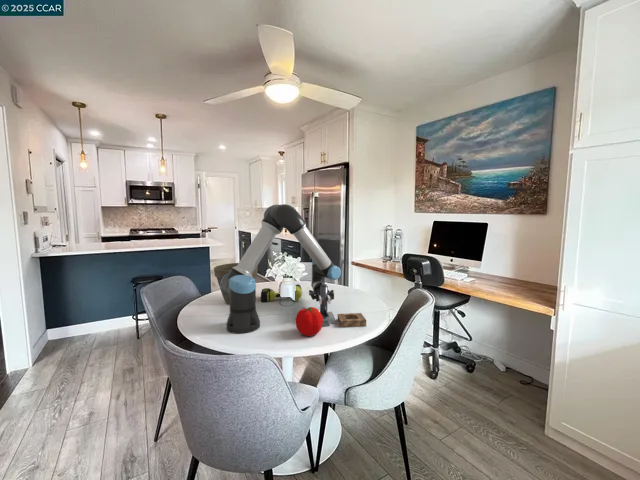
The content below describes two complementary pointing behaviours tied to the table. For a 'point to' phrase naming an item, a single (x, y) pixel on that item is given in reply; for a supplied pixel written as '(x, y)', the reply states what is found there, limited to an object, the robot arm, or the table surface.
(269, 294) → the cordless drill
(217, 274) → the plant pot
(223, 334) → the table surface
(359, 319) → the frame
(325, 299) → the metal bottle
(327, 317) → the socket collar
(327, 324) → the bar
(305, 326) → the tomato
